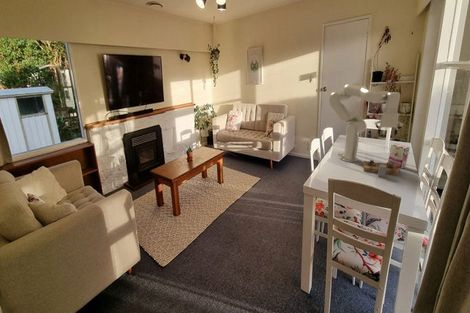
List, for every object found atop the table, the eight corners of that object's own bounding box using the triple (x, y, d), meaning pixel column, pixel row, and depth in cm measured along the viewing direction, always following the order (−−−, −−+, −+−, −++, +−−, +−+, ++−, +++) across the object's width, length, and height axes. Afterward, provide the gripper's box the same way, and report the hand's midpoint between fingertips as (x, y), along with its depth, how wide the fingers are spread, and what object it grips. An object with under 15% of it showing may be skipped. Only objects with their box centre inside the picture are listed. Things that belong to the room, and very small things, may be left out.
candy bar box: (405, 167, 184) (410, 147, 179) (400, 169, 183) (405, 148, 177) (391, 162, 194) (395, 143, 189) (387, 163, 193) (391, 144, 187)
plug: (378, 176, 172) (380, 166, 170) (377, 174, 176) (379, 164, 173) (384, 177, 171) (386, 167, 168) (384, 175, 174) (386, 165, 171)
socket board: (363, 171, 182) (364, 165, 180) (363, 164, 194) (363, 159, 192) (398, 175, 173) (399, 169, 171) (395, 168, 185) (396, 162, 183)
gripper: (377, 111, 169) (373, 135, 174) (406, 112, 162) (402, 137, 168) (376, 109, 175) (372, 132, 181) (404, 110, 168) (400, 134, 174)
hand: (386, 134), depth 174 cm, fingers open, 9 cm apart
